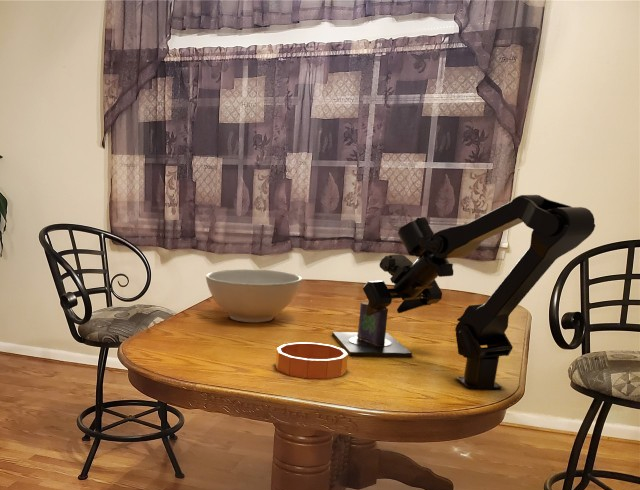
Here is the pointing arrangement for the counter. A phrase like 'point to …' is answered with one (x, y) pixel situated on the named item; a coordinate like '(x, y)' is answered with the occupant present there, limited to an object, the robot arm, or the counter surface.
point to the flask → (372, 326)
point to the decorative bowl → (252, 292)
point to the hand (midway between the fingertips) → (382, 313)
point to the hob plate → (370, 346)
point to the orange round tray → (311, 360)
